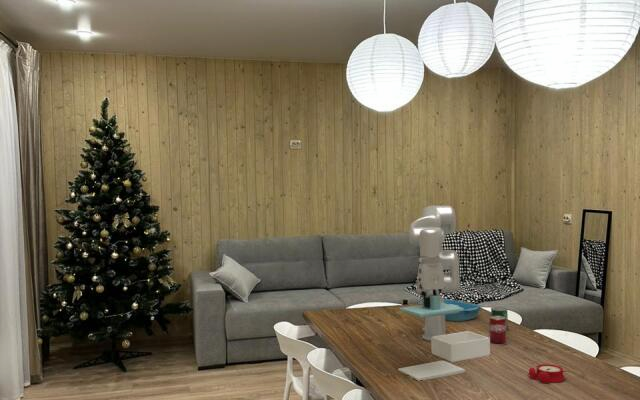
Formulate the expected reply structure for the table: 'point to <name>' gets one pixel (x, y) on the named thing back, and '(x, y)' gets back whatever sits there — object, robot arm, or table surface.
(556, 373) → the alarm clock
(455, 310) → the lid
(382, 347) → the table surface
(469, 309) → the casserole dish
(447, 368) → the mat
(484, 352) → the tub
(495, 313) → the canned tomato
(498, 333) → the soda can
